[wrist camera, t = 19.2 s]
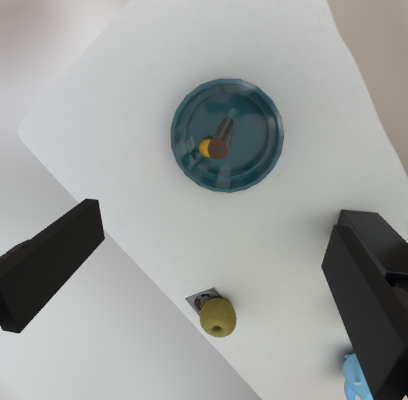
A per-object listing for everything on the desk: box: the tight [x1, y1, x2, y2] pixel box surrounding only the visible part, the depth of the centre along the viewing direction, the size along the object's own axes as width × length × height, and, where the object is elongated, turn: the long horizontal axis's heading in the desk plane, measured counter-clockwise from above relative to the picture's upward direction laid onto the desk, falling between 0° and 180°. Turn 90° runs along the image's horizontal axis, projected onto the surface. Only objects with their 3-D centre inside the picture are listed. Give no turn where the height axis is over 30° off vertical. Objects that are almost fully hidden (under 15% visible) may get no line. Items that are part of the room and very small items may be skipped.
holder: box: [337, 210, 408, 293], centre depth 35 cm, size 6×6×22 cm
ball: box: [199, 139, 211, 157], centre depth 41 cm, size 3×3×3 cm
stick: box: [207, 118, 235, 160], centre depth 33 cm, size 2×2×16 cm
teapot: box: [343, 353, 373, 400], centre depth 55 cm, size 13×13×10 cm
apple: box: [200, 298, 236, 337], centre depth 55 cm, size 8×8×7 cm
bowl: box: [171, 79, 284, 193], centre depth 39 cm, size 16×16×6 cm
